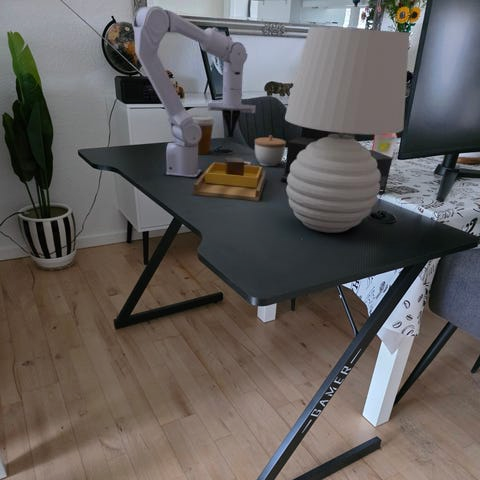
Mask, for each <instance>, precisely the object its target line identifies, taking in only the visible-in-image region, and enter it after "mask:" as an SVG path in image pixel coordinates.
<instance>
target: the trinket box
mask: <svg viewBox="0 0 480 480" xmlns="http://www.w3.org/2000/svg"><path fill="white" fill-rule="evenodd" d="M286 145H287V141H286V140H284V139H281V138H275V137H273V135H271V134H270V135H268V137H258V138H255V139H254V155H255V158H256V160H257V162H259V165H261V166H265V167H276V166H278V164H279V163H280V162H281V161H282V160H283V158H284V155H285V152H286Z"/></svg>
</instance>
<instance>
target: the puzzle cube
mask: <svg viewBox="0 0 480 480" xmlns="http://www.w3.org/2000/svg"><path fill="white" fill-rule="evenodd" d="M397 139H398V136H397V133H393V134H374V136H373V140H372V141H373V142H372V146H371V150H374V151H376V152H379V153H381V154H384V155H387V156H389V157H392V158H393V156H394V153H395V147H396V143H397Z"/></svg>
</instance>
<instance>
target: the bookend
mask: <svg viewBox="0 0 480 480" xmlns="http://www.w3.org/2000/svg"><path fill="white" fill-rule="evenodd" d="M330 134H339V132H330V131H323V130H317V129H311V128H307V127H302V126H301V133H300V136H299V137H296V138H294V139H291V140H289V141H288V142H287V149H286V157H285V169H284V173H283V174H282V176H281V178H280V179H281V180H280V181H281V182H285V183H287V177H288V174H289V173H290V166H291V164H292V162H293V161H294V160H296V159H297V155H298V154H299V152H300V151H302V150H304V149H306V147H307V146H308V145H309V144H310V143H312V142H316V141H318V140H319V139H321V138H325V137H328V135H330ZM343 135H346V133H343Z"/></svg>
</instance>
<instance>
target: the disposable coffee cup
mask: <svg viewBox="0 0 480 480" xmlns="http://www.w3.org/2000/svg"><path fill="white" fill-rule="evenodd" d="M190 116H191V117H192V119H193V121H194V122H195V123H196V124H198V125H199V126H200V128H201V131H202V136H201V139H200V141H199V142H198V155H208V154H210V149H211V143H212V134H213V126H214V123H215V121H214V118H213V116H208V115H200V114H199V115H198V114H197V115H196V114H195V115H190Z"/></svg>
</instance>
